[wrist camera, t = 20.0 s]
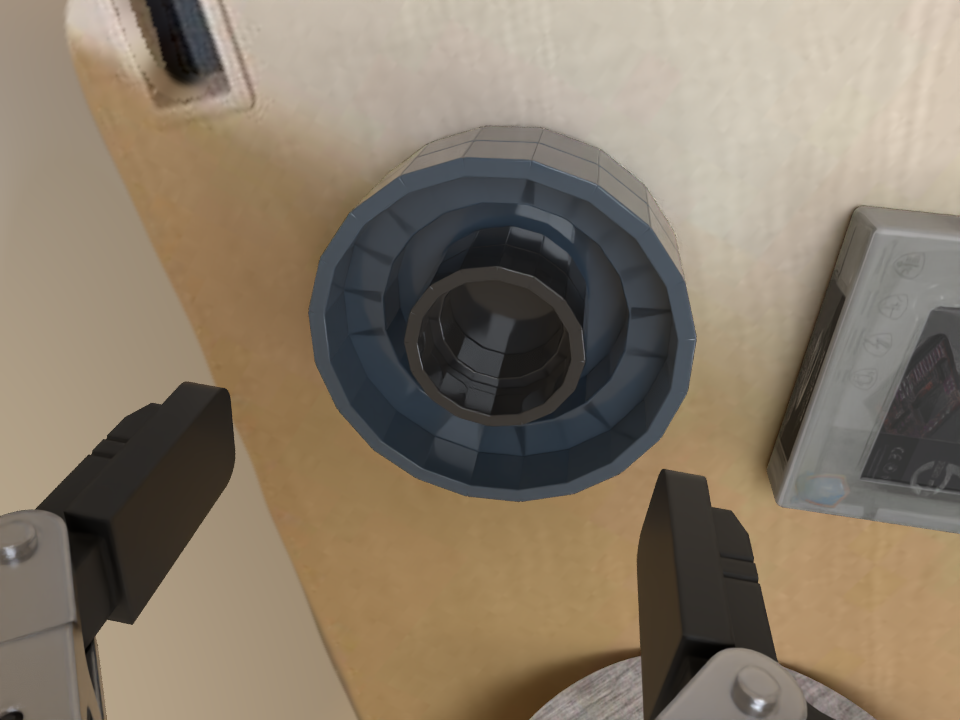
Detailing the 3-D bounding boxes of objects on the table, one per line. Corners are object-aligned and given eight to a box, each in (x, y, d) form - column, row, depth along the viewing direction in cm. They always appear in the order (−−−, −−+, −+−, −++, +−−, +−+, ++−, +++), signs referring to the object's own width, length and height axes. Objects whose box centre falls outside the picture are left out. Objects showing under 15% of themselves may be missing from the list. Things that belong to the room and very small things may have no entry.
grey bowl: (298, 309, 31) (248, 367, 27) (475, 42, 25) (446, 63, 21) (539, 475, 34) (529, 553, 29) (757, 271, 27) (784, 333, 23)
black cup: (403, 305, 30) (372, 359, 26) (492, 187, 27) (472, 229, 23) (523, 390, 31) (511, 455, 27) (622, 287, 28) (623, 343, 24)
